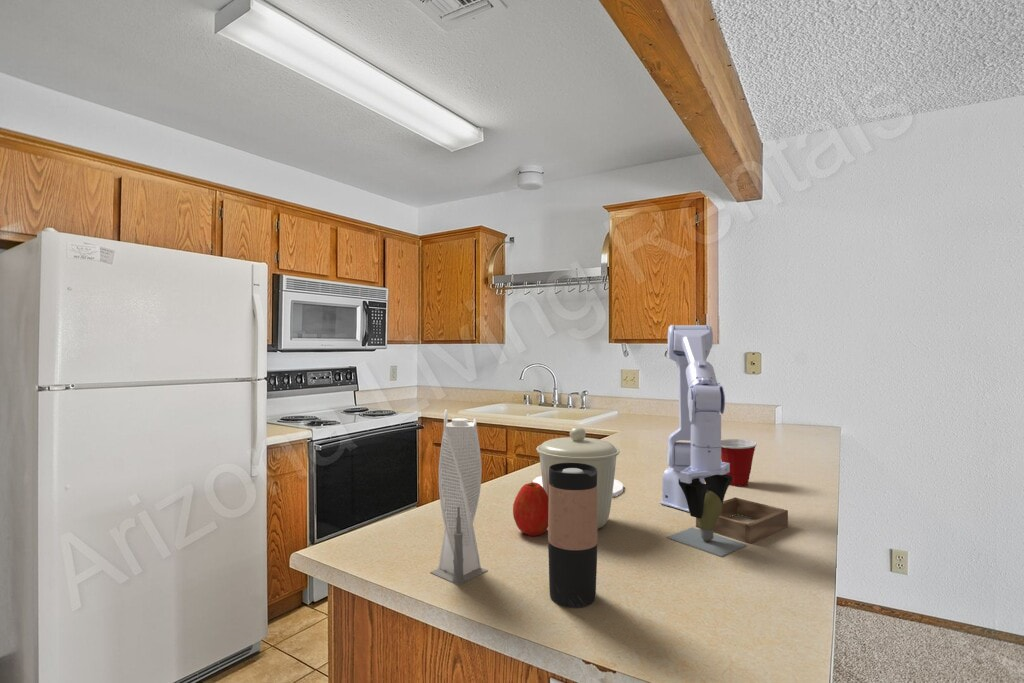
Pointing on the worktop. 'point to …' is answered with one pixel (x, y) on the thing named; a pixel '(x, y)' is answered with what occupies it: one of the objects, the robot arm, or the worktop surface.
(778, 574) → the worktop surface
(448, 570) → the skyscraper
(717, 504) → the light bulb
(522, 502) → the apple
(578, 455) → the canister
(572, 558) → the travel mug
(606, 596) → the worktop surface
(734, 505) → the walnut box
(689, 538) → the pad
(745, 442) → the plastic cup
